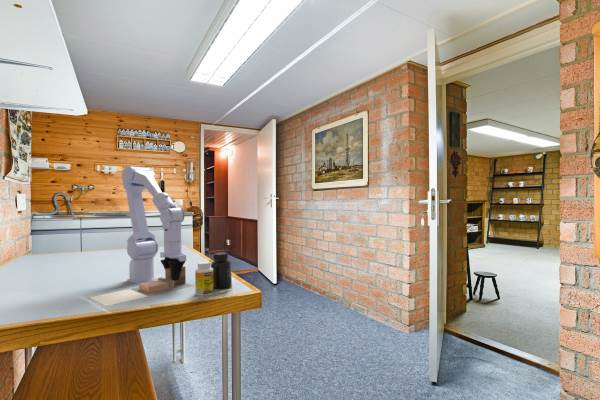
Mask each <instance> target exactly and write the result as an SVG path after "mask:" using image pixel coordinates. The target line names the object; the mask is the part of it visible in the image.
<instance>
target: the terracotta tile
mask: <svg viewBox="0 0 600 400" xmlns="http://www.w3.org/2000/svg"><path fill="white" fill-rule="evenodd" d="M138 284H139V285H138V287H139V290H141V291H144V292H147V293H152V292H157V291H161V290H165V289H169V283H168V282H165V281H162V280H153V281H148V282H143V283H138Z"/></svg>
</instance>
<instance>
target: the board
mask: <svg viewBox="0 0 600 400" xmlns="http://www.w3.org/2000/svg"><path fill="white" fill-rule="evenodd" d="M191 287H194V285H193V284H190V283H185V284H180V285H176V286H174V288H173V289H170V288H169V289H165V290H161V291H157V292H152V293H147V292H144V291H141V290H139V286H138V287H133V288H129V289H128V288H127V289H124V290H119V291H114V292H110V293H103V294H99V295H94V296H90V297H89V298H90V299H91V300H93V301H95V302H97V303H98V304H101V305H102V306H105V307H108V306H113V305H118V304H123V303H126V302H131V301H136V300H138V299H143V298H148V297H152V296H155V295H161V294H164V293H169V292H174V291H178V290H182V289H186V288H191Z"/></svg>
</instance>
